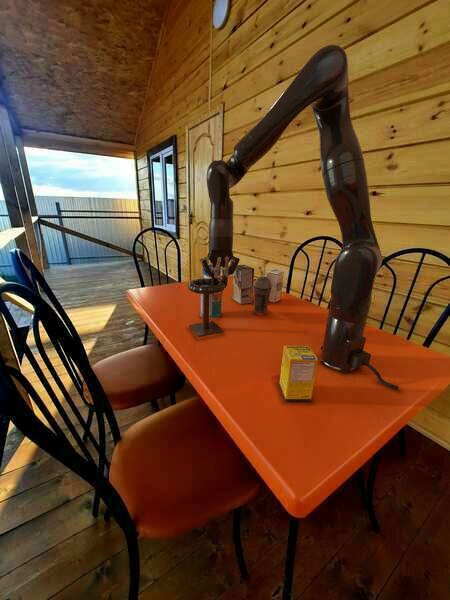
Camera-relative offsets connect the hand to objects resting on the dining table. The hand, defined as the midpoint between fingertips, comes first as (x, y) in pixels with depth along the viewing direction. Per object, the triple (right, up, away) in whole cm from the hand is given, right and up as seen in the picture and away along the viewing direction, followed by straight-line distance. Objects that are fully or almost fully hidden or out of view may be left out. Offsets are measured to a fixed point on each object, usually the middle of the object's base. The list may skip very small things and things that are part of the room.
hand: (219, 287), depth 84 cm
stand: (-5, -15, +3) cm, 16 cm away
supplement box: (+18, -26, -25) cm, 40 cm away
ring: (-4, 0, -2) cm, 5 cm away
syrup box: (+25, -4, +37) cm, 45 cm away
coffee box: (+10, -5, +35) cm, 37 cm away
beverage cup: (+16, -10, +21) cm, 28 cm away
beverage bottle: (-4, -11, +16) cm, 20 cm away
